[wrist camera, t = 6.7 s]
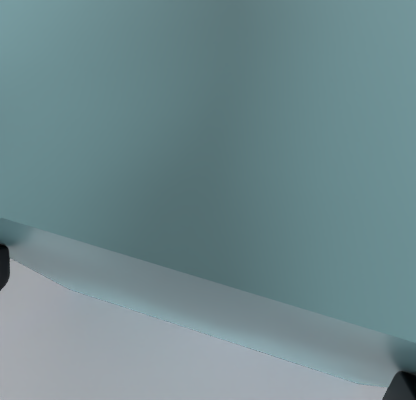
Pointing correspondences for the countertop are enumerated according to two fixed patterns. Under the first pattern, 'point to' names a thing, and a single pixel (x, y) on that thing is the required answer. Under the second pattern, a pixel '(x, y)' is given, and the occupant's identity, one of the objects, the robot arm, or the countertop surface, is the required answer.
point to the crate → (221, 168)
